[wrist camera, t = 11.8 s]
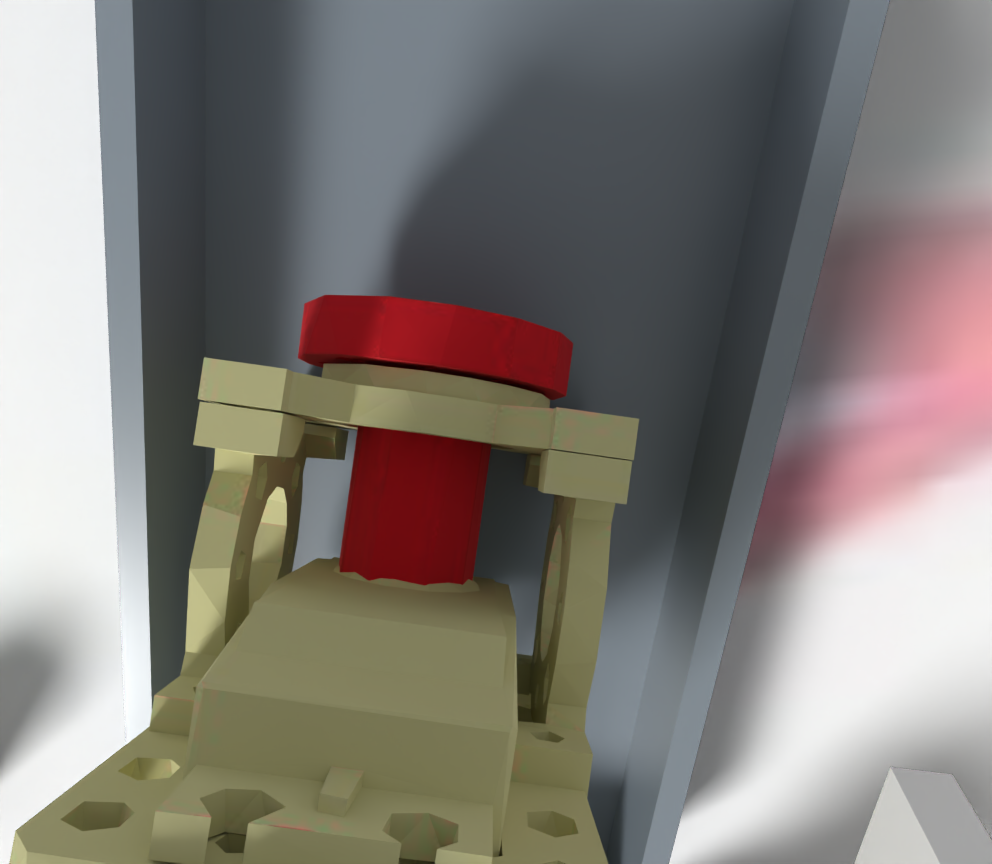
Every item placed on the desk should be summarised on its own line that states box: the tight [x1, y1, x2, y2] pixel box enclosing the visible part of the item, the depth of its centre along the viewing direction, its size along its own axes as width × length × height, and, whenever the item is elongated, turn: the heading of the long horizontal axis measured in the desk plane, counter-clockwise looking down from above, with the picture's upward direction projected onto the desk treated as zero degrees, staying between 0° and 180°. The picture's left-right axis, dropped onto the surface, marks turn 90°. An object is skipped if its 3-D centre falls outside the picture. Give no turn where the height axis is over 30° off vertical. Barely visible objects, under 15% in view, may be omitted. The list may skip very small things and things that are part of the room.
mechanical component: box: [9, 295, 639, 864], centre depth 18 cm, size 8×17×20 cm, turn 172°
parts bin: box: [95, 0, 890, 864], centre depth 22 cm, size 29×14×4 cm, turn 173°
